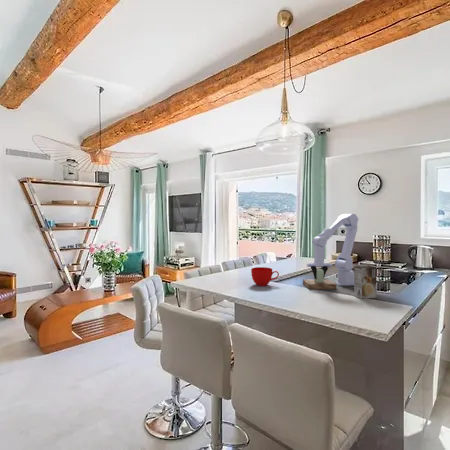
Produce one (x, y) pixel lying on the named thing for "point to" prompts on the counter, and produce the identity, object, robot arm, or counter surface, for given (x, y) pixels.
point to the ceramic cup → (262, 275)
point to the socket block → (319, 284)
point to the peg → (320, 276)
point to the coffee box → (365, 282)
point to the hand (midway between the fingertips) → (319, 278)
